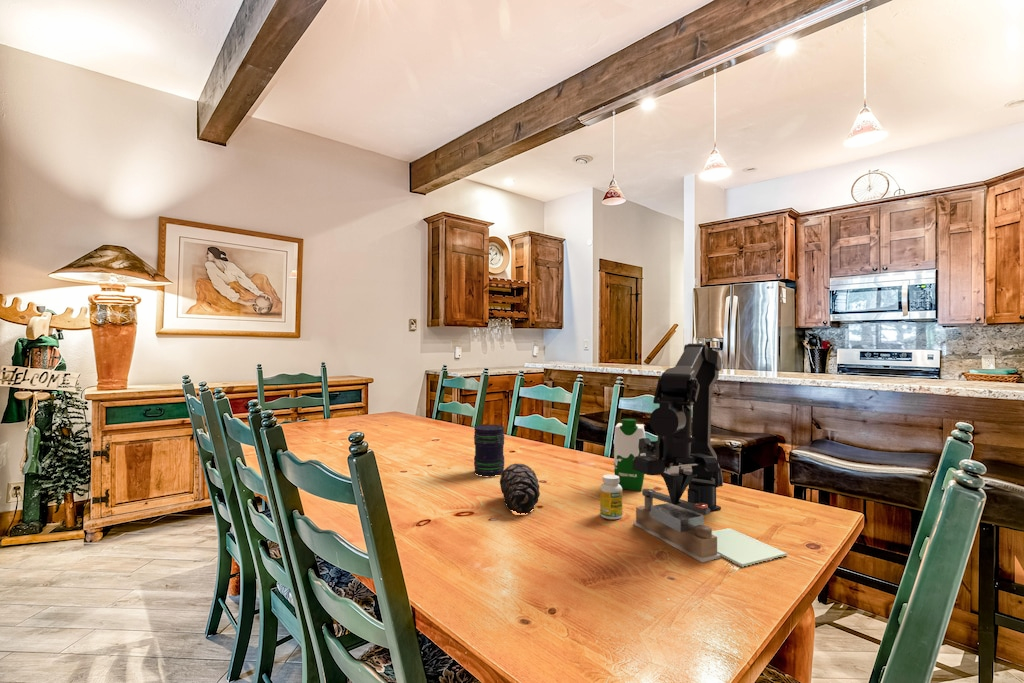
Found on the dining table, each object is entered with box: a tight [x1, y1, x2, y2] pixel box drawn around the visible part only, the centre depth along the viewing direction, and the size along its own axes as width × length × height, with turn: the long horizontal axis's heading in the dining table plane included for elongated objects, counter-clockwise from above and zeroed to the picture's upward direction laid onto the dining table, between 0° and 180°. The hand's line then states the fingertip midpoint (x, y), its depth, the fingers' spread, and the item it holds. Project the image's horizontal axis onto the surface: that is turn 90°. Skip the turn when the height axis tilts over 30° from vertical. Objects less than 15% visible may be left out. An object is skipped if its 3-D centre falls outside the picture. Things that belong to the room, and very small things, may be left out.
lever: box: [641, 488, 711, 516], centre depth 103 cm, size 16×3×2 cm, turn 34°
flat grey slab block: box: [651, 502, 705, 532], centre depth 100 cm, size 6×9×2 cm, turn 23°
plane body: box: [632, 496, 722, 563], centre depth 101 cm, size 21×5×7 cm, turn 23°
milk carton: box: [613, 418, 646, 492], centre depth 139 cm, size 9×9×20 cm
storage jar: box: [473, 424, 505, 476], centre depth 154 cm, size 10×10×15 cm
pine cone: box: [499, 463, 541, 514], centre depth 123 cm, size 10×18×10 cm, turn 13°
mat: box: [712, 527, 788, 568], centre depth 97 cm, size 12×14×1 cm
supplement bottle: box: [599, 474, 623, 520], centre depth 115 cm, size 5×5×10 cm
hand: (674, 504), depth 101 cm, fingers closed
